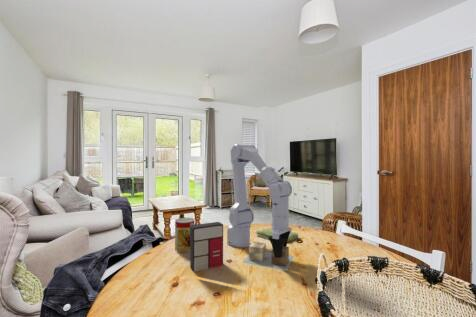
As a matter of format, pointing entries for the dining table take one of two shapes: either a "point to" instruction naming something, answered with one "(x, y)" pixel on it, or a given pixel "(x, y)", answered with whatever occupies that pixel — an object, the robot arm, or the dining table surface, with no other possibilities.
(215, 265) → the grey toy cabinet
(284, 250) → the walnut block
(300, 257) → the dining table surface
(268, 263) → the board
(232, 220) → the robot arm
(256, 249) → the birch block
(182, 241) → the canned food
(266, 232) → the washcloth
